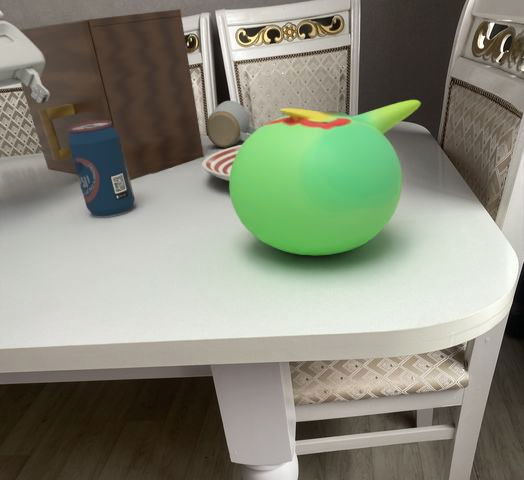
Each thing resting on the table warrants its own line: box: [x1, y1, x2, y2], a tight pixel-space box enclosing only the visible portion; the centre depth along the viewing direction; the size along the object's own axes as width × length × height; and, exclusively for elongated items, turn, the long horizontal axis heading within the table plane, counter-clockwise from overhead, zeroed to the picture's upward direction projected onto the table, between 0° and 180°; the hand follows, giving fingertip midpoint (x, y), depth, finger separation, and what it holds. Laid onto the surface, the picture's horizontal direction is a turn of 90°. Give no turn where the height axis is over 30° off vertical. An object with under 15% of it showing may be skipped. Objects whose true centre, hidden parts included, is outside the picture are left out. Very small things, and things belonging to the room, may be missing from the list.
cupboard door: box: [20, 20, 113, 175], centre depth 90 cm, size 7×26×24 cm, turn 48°
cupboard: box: [18, 8, 205, 181], centre depth 98 cm, size 18×26×24 cm
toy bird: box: [228, 99, 422, 256], centre depth 54 cm, size 18×17×15 cm
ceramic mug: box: [205, 100, 258, 149], centre depth 105 cm, size 11×8×8 cm
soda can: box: [68, 120, 136, 219], centre depth 74 cm, size 7×7×12 cm
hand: (21, 104), depth 73 cm, fingers open, 8 cm apart
